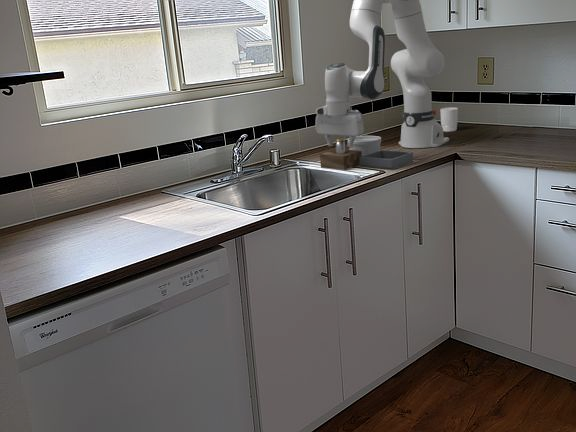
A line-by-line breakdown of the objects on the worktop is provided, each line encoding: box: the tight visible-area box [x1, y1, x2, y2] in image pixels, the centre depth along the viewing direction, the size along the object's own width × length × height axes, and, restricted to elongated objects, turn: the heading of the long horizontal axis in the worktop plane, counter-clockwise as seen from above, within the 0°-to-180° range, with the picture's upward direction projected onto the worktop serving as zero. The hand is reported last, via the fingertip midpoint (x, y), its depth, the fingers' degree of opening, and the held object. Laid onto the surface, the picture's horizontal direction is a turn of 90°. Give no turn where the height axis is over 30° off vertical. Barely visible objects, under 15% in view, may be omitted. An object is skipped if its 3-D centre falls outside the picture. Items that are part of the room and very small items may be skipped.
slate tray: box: [359, 149, 414, 170], centre depth 233 cm, size 14×14×4 cm
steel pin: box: [335, 138, 346, 154], centre depth 236 cm, size 3×3×10 cm
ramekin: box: [347, 135, 382, 156], centre depth 251 cm, size 13×13×7 cm
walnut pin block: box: [319, 148, 362, 171], centre depth 236 cm, size 11×11×5 cm
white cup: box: [439, 107, 459, 133], centre depth 291 cm, size 8×8×10 cm
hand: (340, 146), depth 235 cm, fingers open, 8 cm apart
